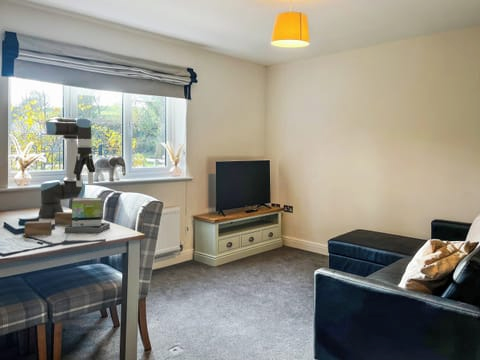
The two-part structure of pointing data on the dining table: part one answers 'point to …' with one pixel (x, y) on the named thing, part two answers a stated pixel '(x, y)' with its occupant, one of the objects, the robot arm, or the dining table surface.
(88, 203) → the tea box
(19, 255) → the dining table surface
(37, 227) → the block
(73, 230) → the tray
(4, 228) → the dining table surface
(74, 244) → the dining table surface
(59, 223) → the block
